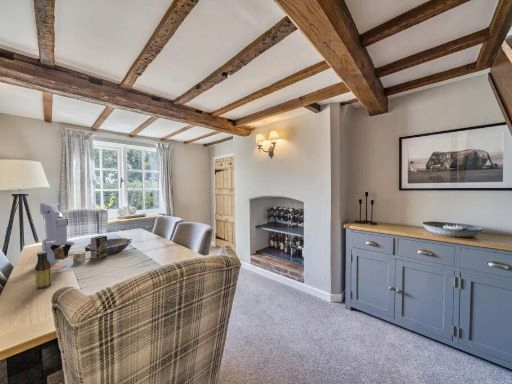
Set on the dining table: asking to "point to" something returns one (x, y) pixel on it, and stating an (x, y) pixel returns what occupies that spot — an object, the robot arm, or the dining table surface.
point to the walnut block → (59, 254)
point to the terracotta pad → (57, 268)
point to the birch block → (78, 257)
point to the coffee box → (98, 246)
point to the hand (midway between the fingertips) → (61, 255)
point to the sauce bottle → (42, 271)
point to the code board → (69, 265)
